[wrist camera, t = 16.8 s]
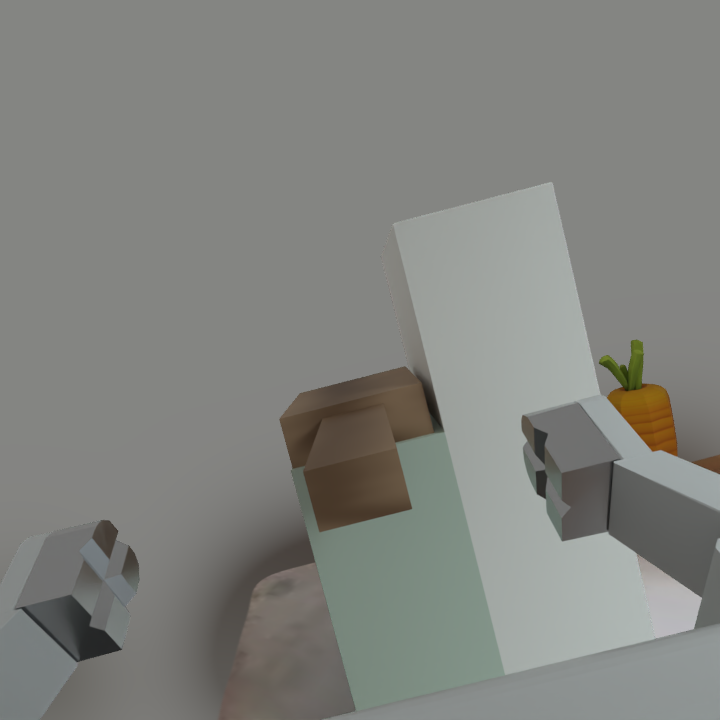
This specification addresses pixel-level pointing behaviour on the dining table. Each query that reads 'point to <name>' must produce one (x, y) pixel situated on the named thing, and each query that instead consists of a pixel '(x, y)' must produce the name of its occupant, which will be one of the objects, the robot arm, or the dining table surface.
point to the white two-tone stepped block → (477, 471)
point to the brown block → (356, 444)
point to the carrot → (642, 403)
